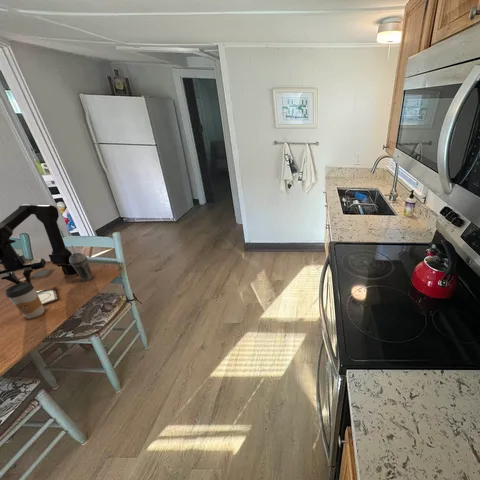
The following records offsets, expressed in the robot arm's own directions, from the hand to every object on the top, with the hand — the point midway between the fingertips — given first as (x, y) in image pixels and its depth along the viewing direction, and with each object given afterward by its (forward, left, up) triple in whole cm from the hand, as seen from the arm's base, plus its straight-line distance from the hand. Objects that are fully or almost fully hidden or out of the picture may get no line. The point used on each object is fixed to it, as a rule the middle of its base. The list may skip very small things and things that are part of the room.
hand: (26, 284), depth 124 cm
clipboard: (-1, -1, -10) cm, 10 cm away
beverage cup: (-16, -14, -10) cm, 23 cm away
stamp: (0, 0, -1) cm, 1 cm away
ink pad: (+10, -27, -10) cm, 31 cm away
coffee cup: (-5, +11, -10) cm, 16 cm away
